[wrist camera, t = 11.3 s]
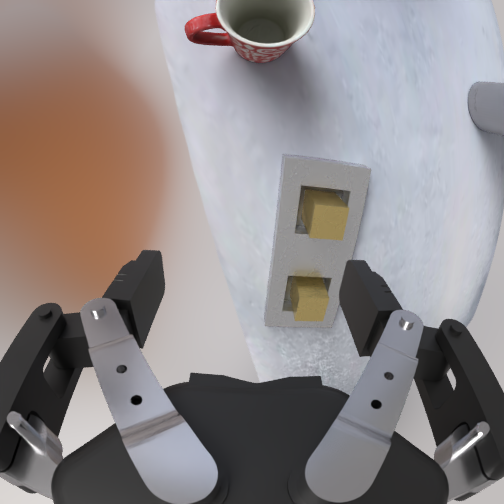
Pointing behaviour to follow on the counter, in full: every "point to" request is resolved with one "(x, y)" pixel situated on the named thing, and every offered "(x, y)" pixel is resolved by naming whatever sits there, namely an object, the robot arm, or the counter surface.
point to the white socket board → (312, 249)
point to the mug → (254, 26)
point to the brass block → (308, 298)
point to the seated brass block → (324, 215)
